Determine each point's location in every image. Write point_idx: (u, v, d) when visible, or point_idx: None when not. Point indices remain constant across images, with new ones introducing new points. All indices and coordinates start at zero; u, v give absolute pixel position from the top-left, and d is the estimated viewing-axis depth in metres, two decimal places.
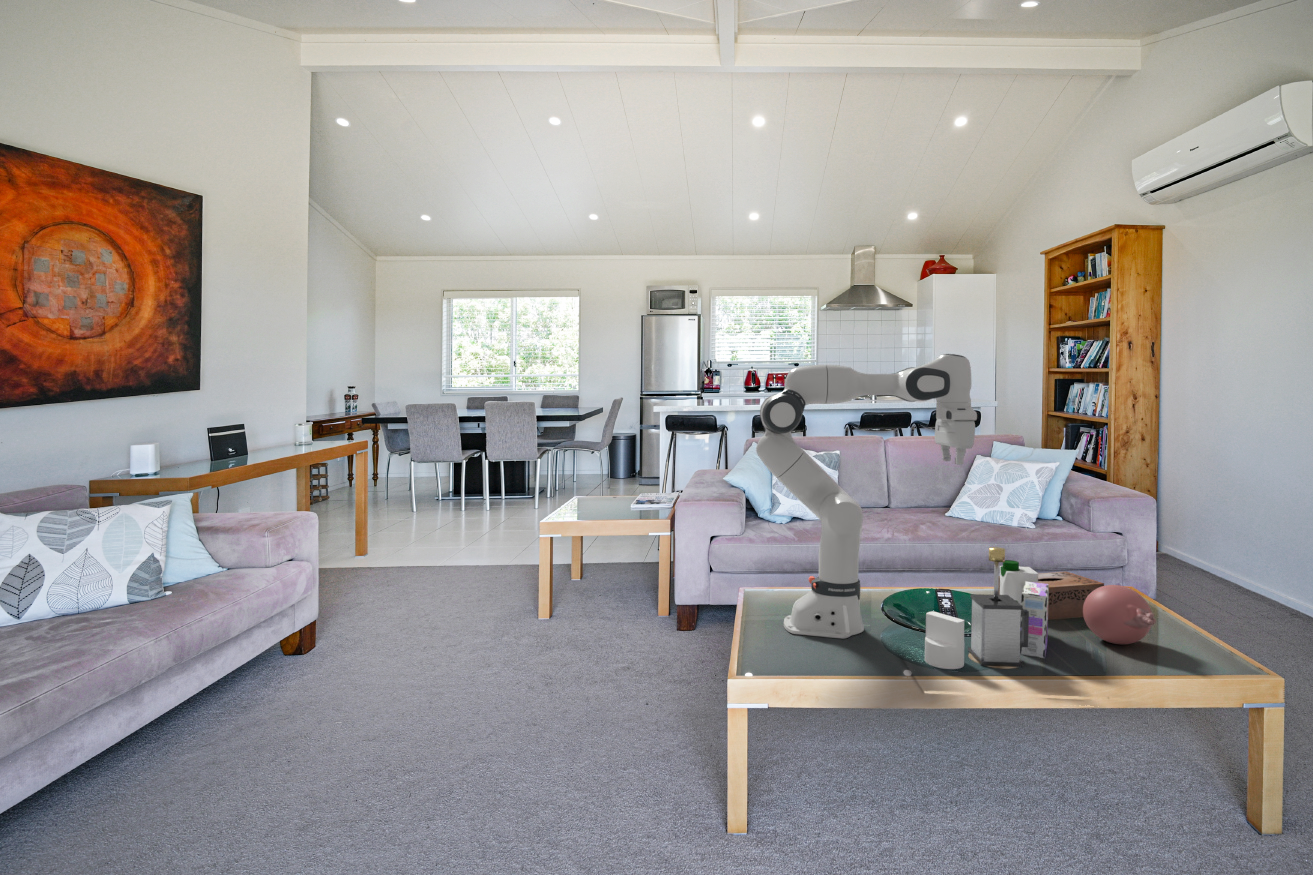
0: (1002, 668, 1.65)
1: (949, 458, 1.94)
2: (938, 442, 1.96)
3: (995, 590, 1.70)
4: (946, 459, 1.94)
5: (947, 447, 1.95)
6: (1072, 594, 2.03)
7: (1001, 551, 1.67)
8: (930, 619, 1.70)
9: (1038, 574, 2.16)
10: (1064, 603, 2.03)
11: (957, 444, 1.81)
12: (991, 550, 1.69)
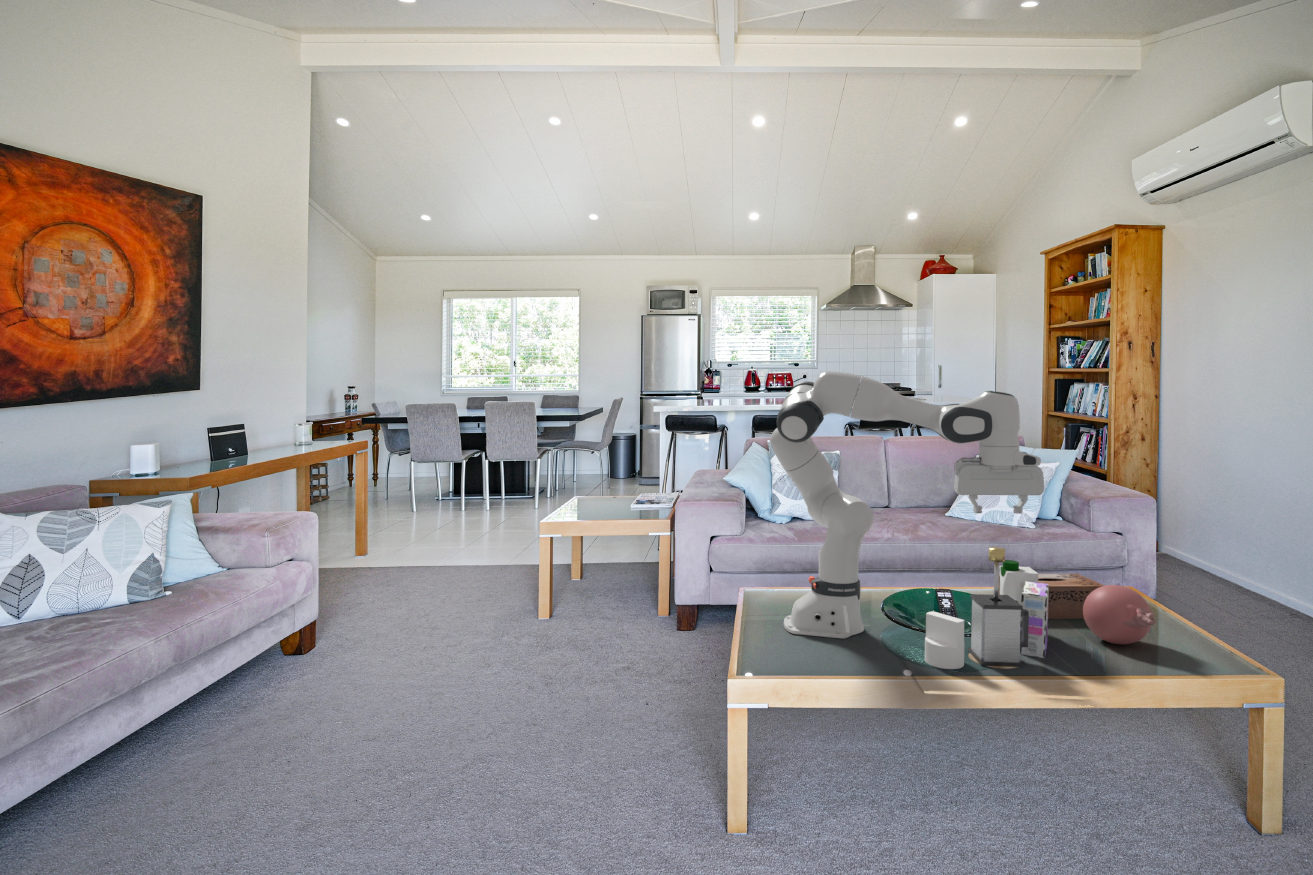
0: (1002, 668, 1.65)
1: None
2: (973, 493, 1.67)
3: (995, 590, 1.70)
4: None
5: None
6: (1068, 594, 2.02)
7: (1001, 551, 1.67)
8: (930, 619, 1.70)
9: (1043, 574, 2.15)
10: (1059, 603, 2.03)
11: (1038, 491, 1.66)
12: (991, 550, 1.69)
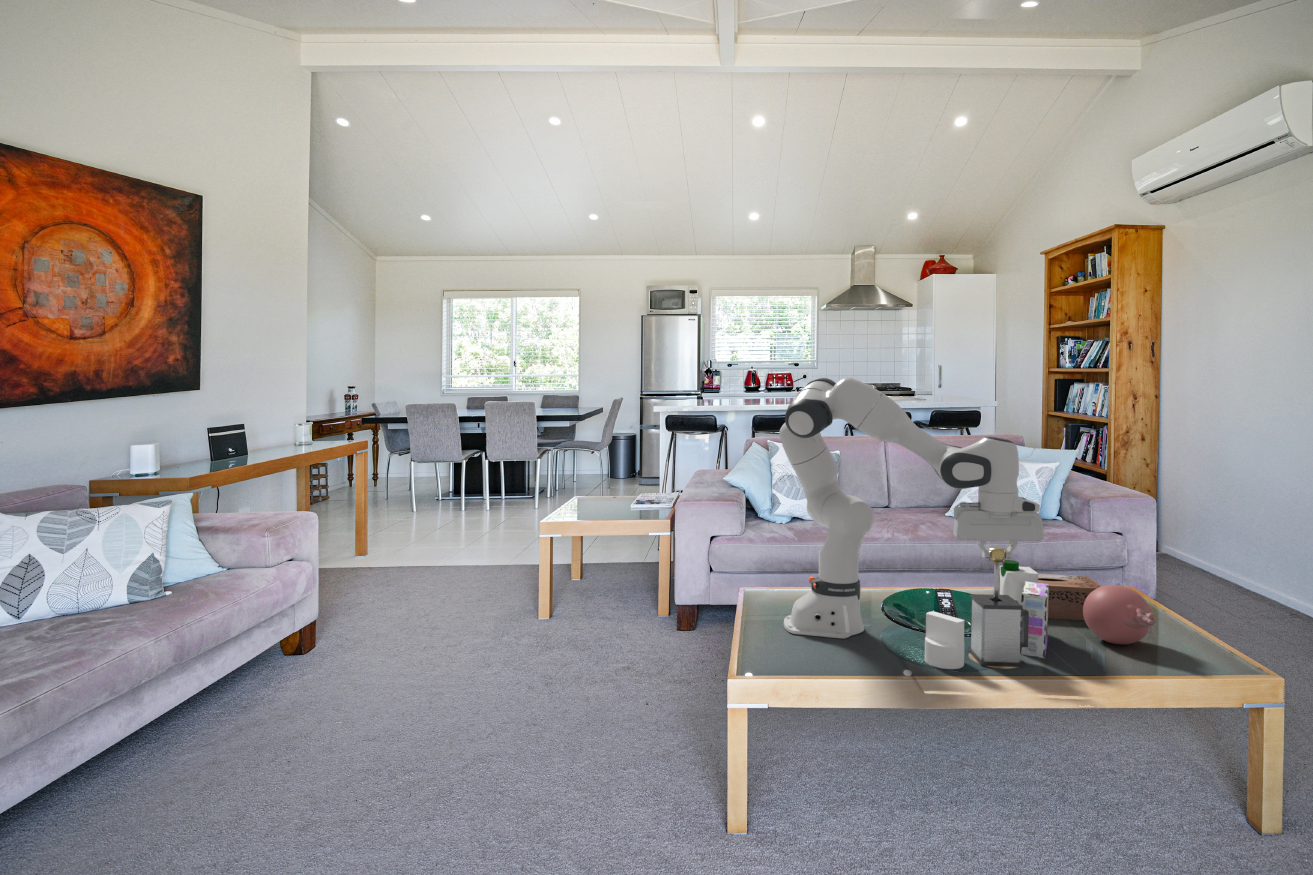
0: (1002, 668, 1.65)
1: None
2: (972, 538, 1.68)
3: (995, 590, 1.70)
4: None
5: None
6: (1063, 595, 2.02)
7: (1001, 551, 1.67)
8: (930, 619, 1.70)
9: (1048, 575, 2.15)
10: (1053, 603, 2.03)
11: (1037, 537, 1.66)
12: (991, 550, 1.69)
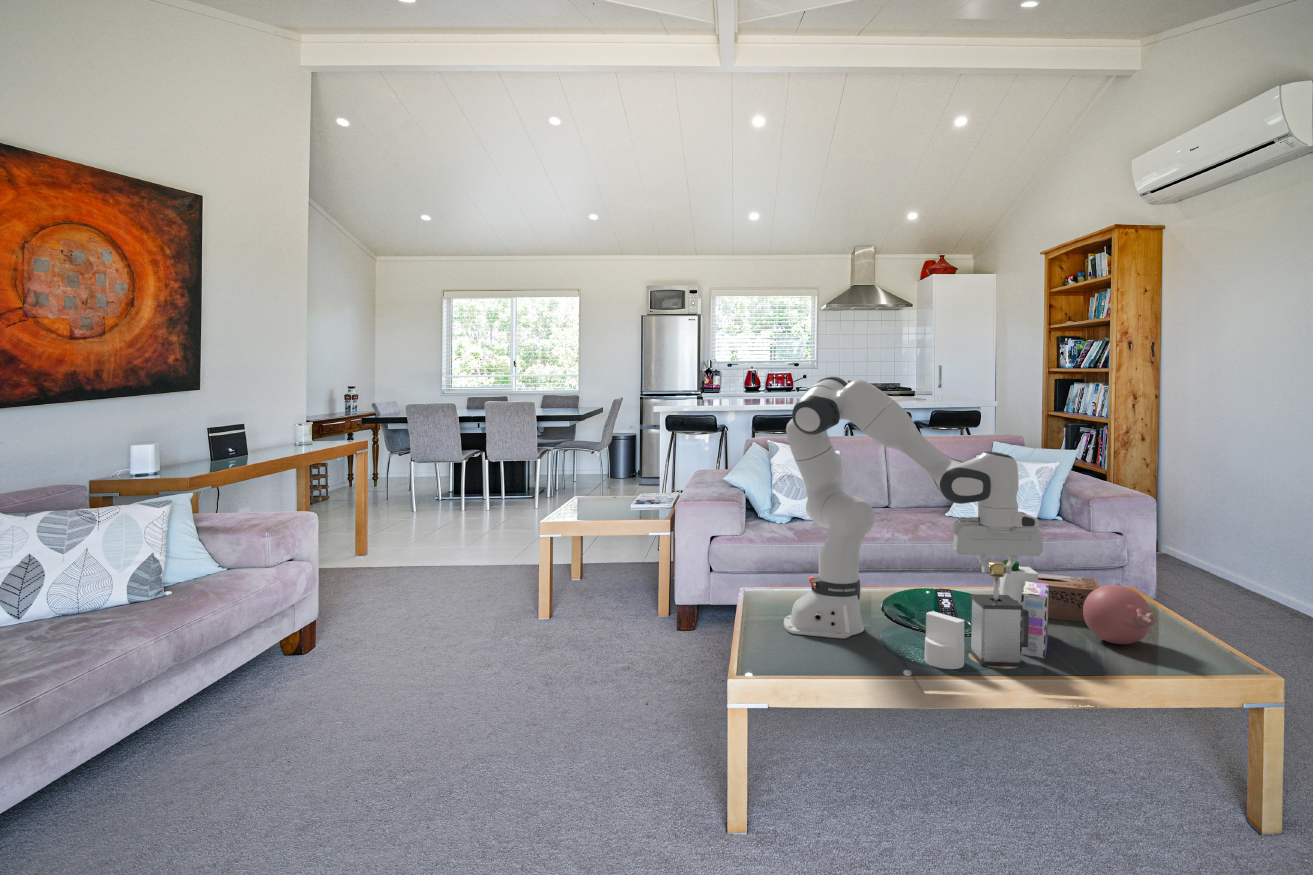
0: (1002, 668, 1.65)
1: None
2: (972, 553, 1.68)
3: None
4: None
5: None
6: (1058, 595, 2.02)
7: (1001, 566, 1.68)
8: (930, 619, 1.70)
9: (1052, 575, 2.14)
10: (1048, 603, 2.04)
11: (1036, 552, 1.66)
12: (991, 565, 1.69)
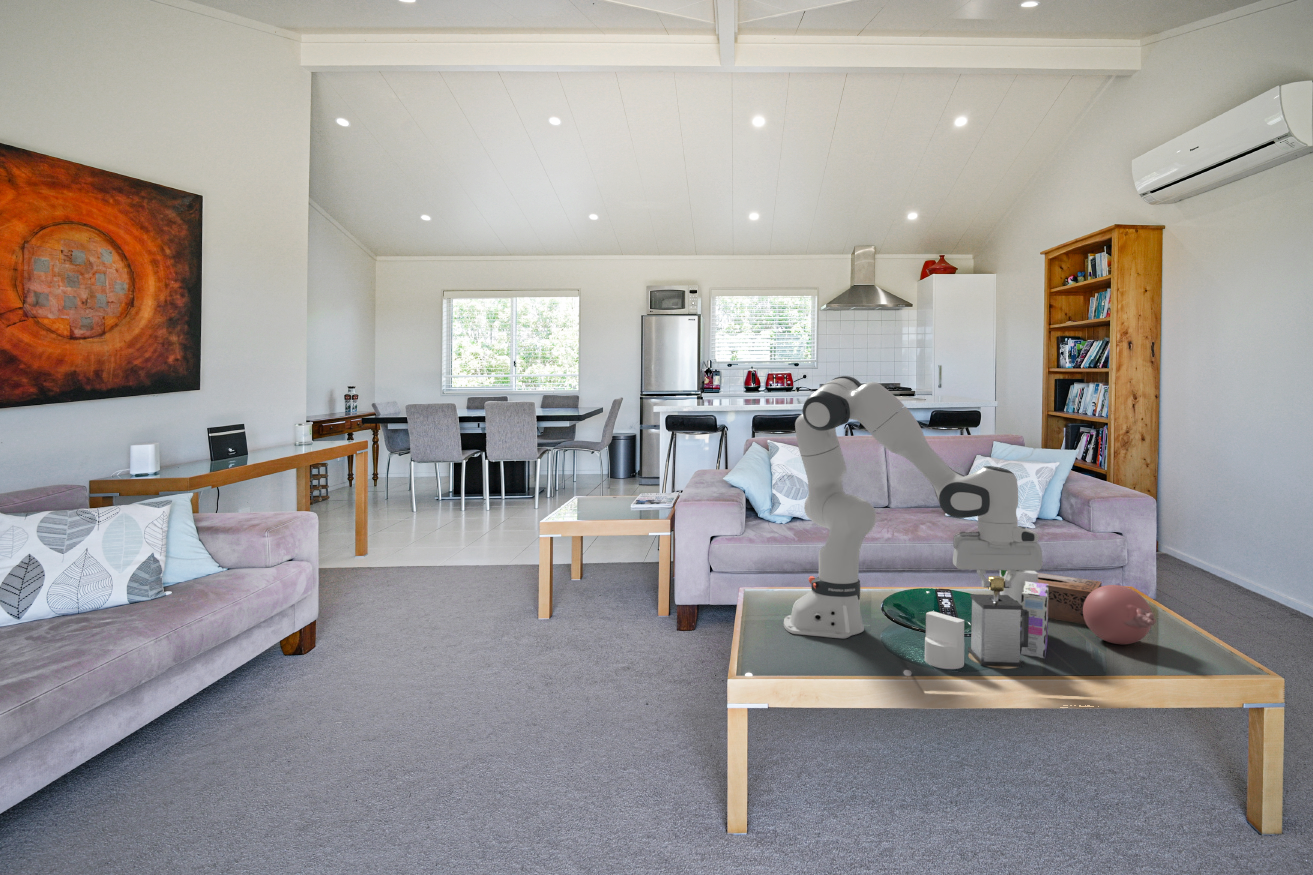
0: (1002, 668, 1.65)
1: None
2: (972, 567, 1.68)
3: None
4: None
5: None
6: (1051, 594, 2.03)
7: (1000, 580, 1.68)
8: (930, 619, 1.70)
9: (1057, 576, 2.13)
10: None
11: (1036, 567, 1.67)
12: (990, 579, 1.69)
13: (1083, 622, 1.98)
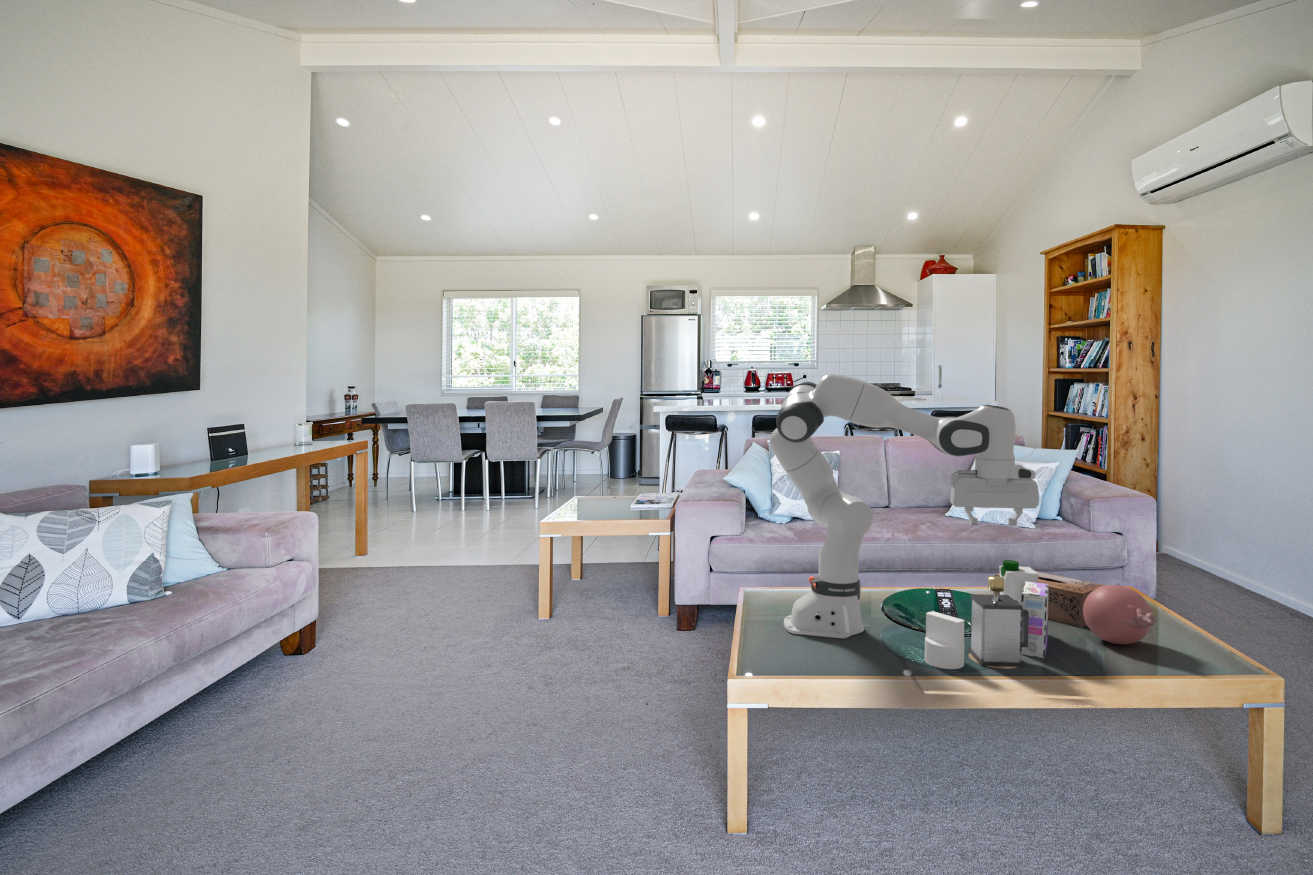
0: (1002, 668, 1.65)
1: None
2: (969, 505, 1.70)
3: None
4: None
5: None
6: None
7: (1000, 581, 1.68)
8: (930, 619, 1.70)
9: (1063, 577, 2.12)
10: None
11: (1032, 504, 1.68)
12: (990, 579, 1.69)
13: (1072, 623, 1.97)
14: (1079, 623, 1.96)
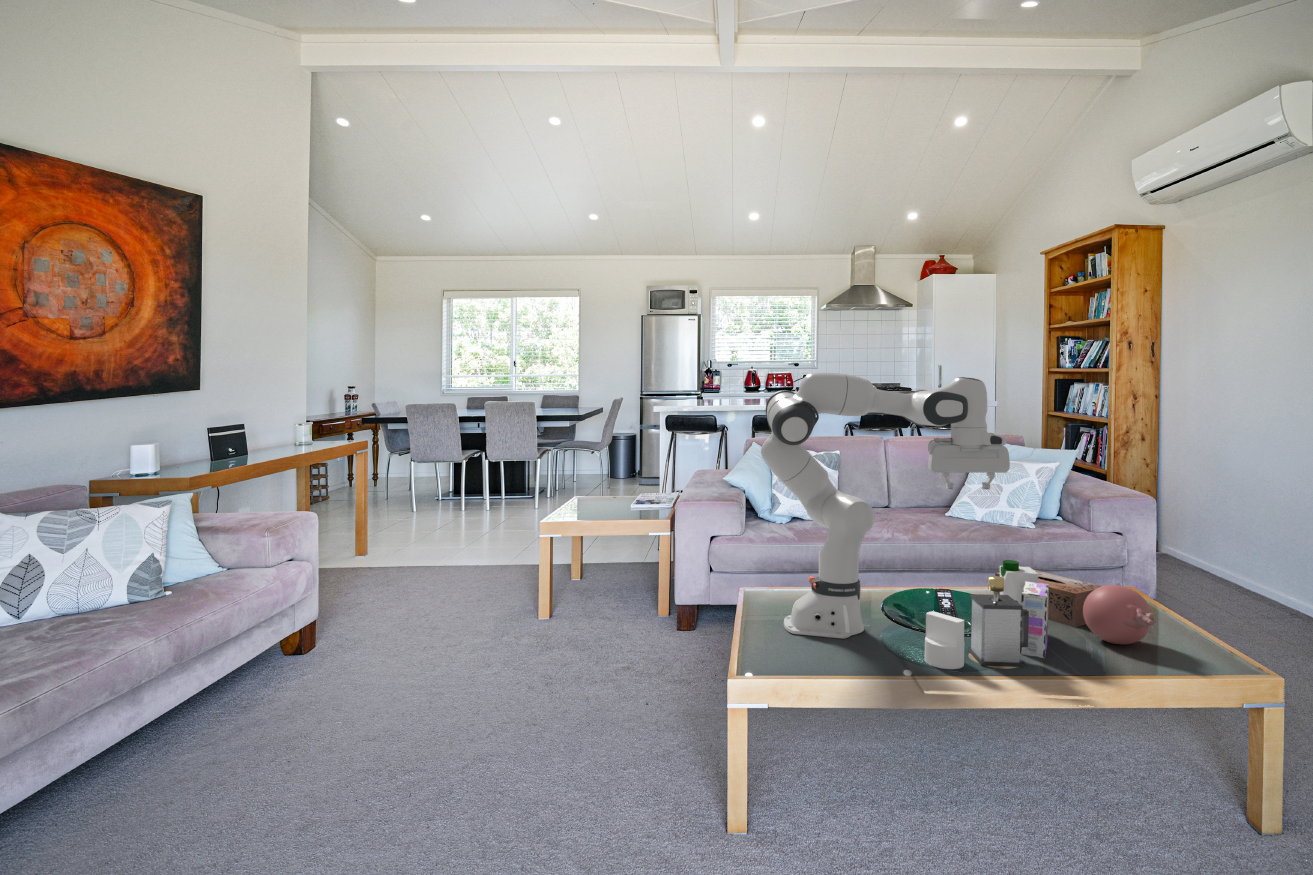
0: (1002, 668, 1.65)
1: None
2: (945, 470, 1.83)
3: None
4: None
5: None
6: None
7: (1000, 581, 1.68)
8: (930, 619, 1.70)
9: (1065, 578, 2.11)
10: None
11: (1004, 469, 1.81)
12: (990, 579, 1.69)
13: (1066, 623, 1.98)
14: (1072, 623, 1.96)
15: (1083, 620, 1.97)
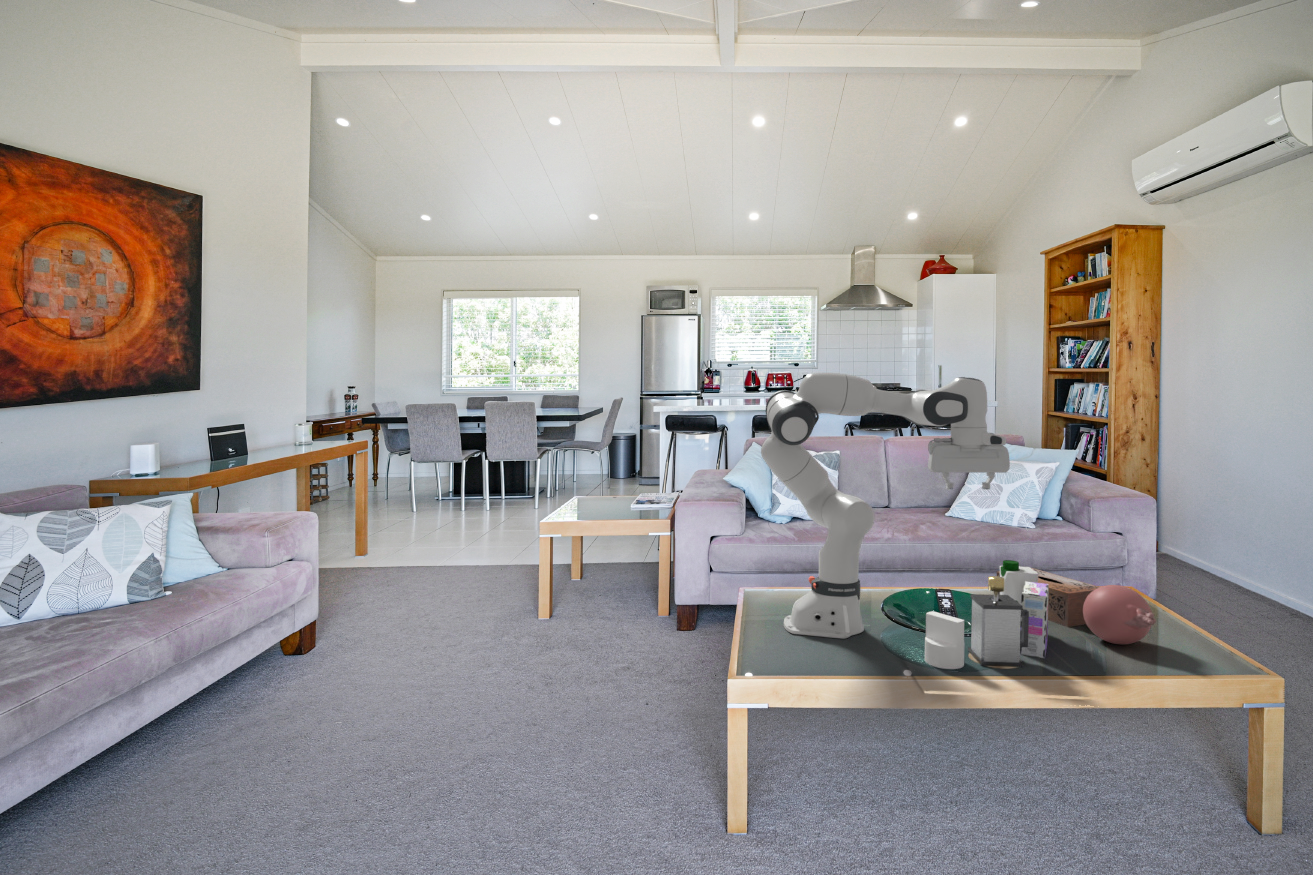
0: (1002, 668, 1.65)
1: None
2: (945, 470, 1.83)
3: None
4: None
5: None
6: None
7: (1000, 581, 1.68)
8: (930, 619, 1.70)
9: (1067, 579, 2.10)
10: None
11: (1004, 468, 1.81)
12: (990, 579, 1.69)
13: (1059, 622, 1.98)
14: (1065, 623, 1.96)
15: (1077, 620, 1.97)
